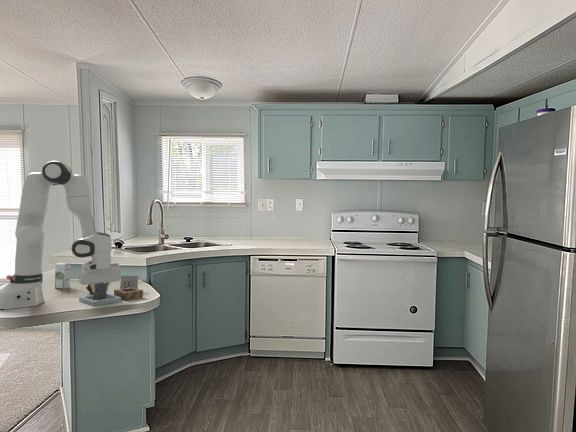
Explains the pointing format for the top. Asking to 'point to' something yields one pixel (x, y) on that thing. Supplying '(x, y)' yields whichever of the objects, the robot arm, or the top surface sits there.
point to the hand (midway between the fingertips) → (100, 291)
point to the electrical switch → (129, 282)
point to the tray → (95, 303)
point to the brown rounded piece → (89, 288)
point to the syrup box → (62, 275)
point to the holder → (128, 293)
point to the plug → (100, 291)
